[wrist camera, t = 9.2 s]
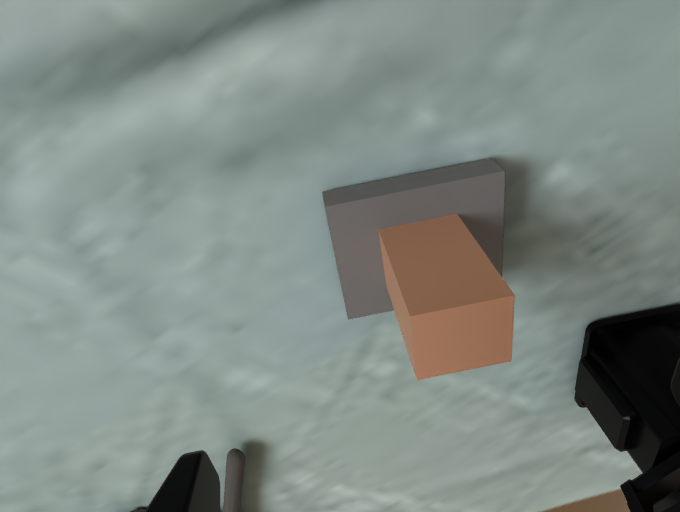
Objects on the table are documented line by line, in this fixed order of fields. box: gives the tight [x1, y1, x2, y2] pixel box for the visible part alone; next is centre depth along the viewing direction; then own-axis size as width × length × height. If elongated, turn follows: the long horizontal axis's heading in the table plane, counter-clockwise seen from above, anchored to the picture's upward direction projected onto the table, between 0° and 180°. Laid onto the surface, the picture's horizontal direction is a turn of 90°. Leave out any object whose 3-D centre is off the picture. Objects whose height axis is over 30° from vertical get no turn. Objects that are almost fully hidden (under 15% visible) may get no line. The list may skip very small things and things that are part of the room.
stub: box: [322, 158, 515, 380], centre depth 18 cm, size 7×6×7 cm
